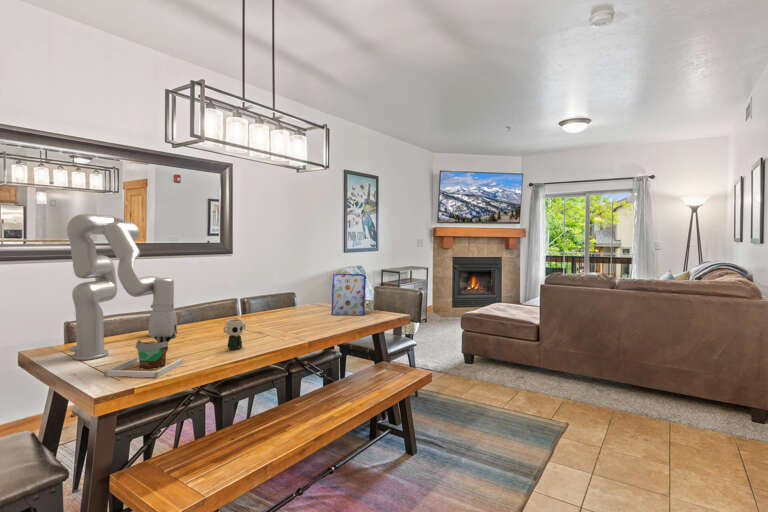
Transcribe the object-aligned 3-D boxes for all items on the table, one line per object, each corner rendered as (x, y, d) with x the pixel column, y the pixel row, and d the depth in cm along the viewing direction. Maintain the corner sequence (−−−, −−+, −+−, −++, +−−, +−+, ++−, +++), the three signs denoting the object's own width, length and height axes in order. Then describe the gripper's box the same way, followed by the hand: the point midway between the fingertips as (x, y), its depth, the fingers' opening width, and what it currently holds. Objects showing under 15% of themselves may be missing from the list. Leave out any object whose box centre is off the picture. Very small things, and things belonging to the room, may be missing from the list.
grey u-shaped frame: (104, 376, 153) (104, 370, 153) (135, 362, 170) (135, 357, 170) (156, 377, 152) (156, 372, 152) (182, 363, 169) (182, 358, 169)
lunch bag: (365, 311, 289) (366, 272, 288) (366, 315, 273) (366, 274, 271) (332, 311, 288) (332, 272, 287) (330, 315, 271) (331, 274, 270)
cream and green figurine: (228, 352, 186) (227, 323, 185) (219, 349, 190) (219, 321, 189) (249, 347, 194) (249, 319, 193) (241, 344, 198) (241, 317, 198)
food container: (128, 369, 161) (127, 343, 161) (139, 364, 167) (138, 339, 167) (158, 370, 160) (158, 344, 159) (168, 365, 166) (168, 340, 166)
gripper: (140, 308, 169) (140, 353, 170) (175, 310, 168) (175, 355, 169) (151, 305, 177) (151, 348, 178) (186, 307, 176) (185, 350, 177)
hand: (163, 351), depth 174 cm, fingers closed
